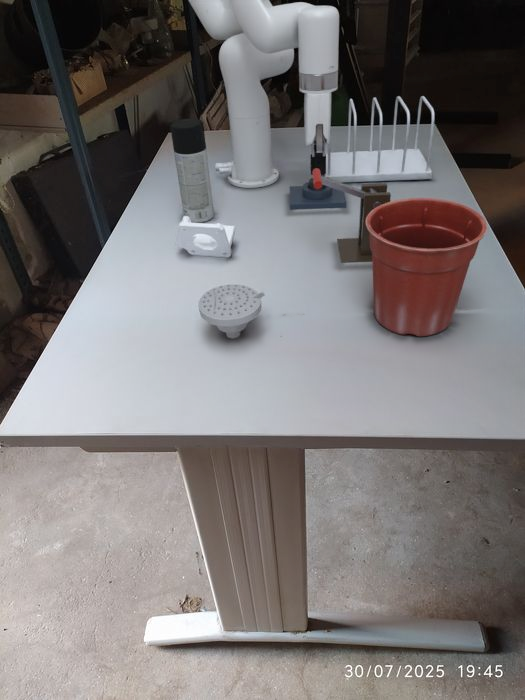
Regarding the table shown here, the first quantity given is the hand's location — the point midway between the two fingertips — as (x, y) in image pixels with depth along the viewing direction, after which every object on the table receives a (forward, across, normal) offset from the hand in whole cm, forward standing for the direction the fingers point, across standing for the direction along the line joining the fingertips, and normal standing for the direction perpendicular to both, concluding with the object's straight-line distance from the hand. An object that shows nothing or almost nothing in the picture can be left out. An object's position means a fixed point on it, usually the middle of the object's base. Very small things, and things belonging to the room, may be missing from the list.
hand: (318, 173), depth 117 cm
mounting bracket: (+7, +21, -23) cm, 32 cm away
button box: (+7, 0, 0) cm, 7 cm away
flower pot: (+8, +44, +13) cm, 46 cm away
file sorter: (+7, -19, +15) cm, 25 cm away
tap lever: (-5, +24, +4) cm, 25 cm away
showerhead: (+7, +48, -15) cm, 51 cm away
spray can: (+7, +5, -26) cm, 28 cm away
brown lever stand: (+7, +24, +9) cm, 26 cm away
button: (+3, 0, 0) cm, 3 cm away
